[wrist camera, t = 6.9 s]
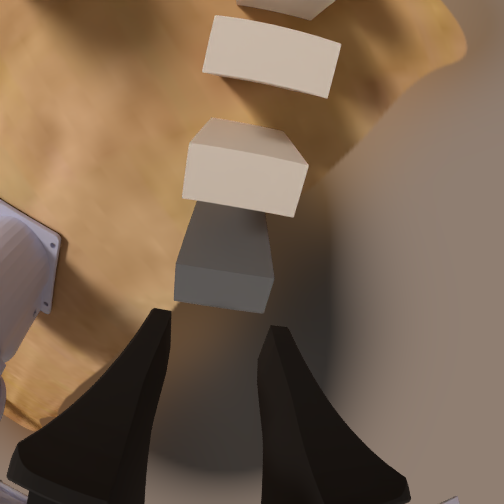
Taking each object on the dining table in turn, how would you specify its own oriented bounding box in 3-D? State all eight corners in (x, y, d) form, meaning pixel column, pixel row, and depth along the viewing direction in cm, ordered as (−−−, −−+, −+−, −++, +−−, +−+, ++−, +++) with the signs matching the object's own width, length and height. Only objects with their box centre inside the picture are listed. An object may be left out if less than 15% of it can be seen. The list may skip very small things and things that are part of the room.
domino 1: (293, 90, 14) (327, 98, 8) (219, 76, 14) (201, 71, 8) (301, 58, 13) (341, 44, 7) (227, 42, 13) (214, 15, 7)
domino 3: (257, 235, 19) (263, 313, 13) (194, 225, 18) (173, 300, 13) (264, 207, 18) (274, 278, 12) (198, 196, 17) (175, 263, 12)
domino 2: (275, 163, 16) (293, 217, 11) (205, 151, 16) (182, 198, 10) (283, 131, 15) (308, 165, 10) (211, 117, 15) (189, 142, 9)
